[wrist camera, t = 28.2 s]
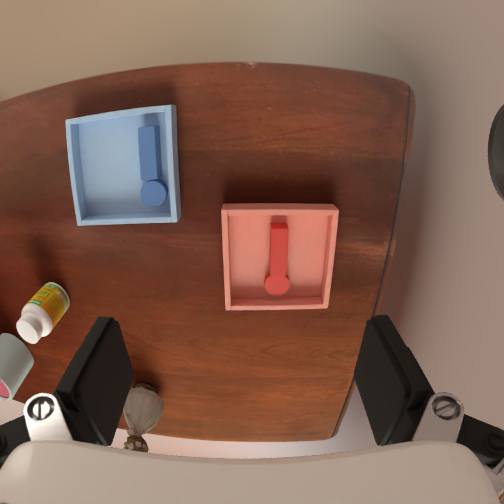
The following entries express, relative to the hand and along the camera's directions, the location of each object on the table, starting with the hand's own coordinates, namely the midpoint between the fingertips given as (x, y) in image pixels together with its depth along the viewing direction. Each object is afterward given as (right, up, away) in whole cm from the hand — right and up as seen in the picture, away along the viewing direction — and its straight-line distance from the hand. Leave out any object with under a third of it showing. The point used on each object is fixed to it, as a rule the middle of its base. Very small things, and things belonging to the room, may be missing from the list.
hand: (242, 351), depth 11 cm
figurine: (-18, -21, +40) cm, 49 cm away
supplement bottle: (-30, -3, +32) cm, 44 cm away
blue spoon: (-11, +14, +24) cm, 30 cm away
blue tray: (-15, +14, +24) cm, 32 cm away
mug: (-48, -18, +38) cm, 64 cm away
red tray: (+4, +3, +30) cm, 30 cm away
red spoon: (+4, +3, +29) cm, 29 cm away
